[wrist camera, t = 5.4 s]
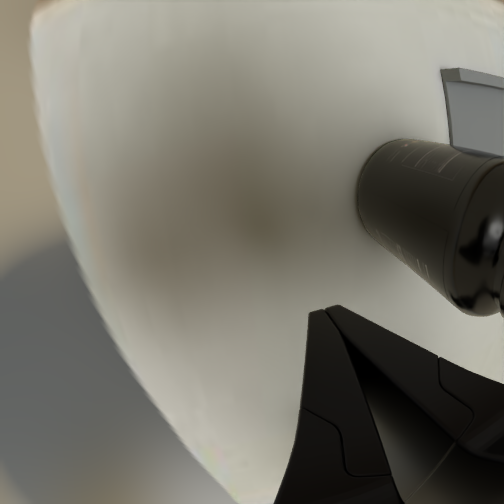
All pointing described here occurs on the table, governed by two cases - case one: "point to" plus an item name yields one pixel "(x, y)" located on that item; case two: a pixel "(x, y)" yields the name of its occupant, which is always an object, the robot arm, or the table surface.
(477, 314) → the supplement bottle
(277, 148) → the table surface
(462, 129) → the tray
